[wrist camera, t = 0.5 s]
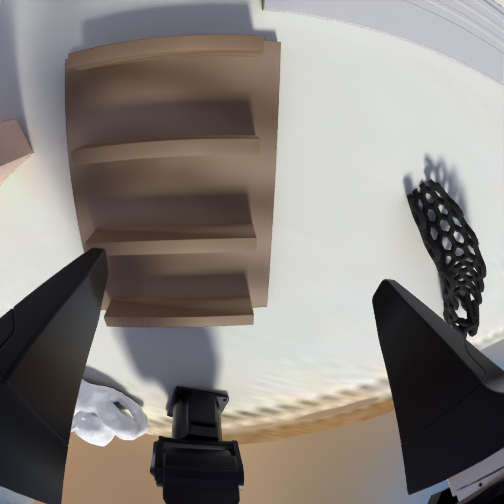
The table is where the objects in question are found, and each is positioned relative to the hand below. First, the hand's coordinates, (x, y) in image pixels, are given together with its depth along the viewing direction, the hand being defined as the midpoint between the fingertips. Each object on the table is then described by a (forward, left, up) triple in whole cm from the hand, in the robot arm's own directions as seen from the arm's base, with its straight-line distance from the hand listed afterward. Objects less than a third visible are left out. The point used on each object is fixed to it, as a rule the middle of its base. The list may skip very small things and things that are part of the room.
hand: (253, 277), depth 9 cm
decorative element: (-1, -25, -15) cm, 29 cm away
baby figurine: (-30, +7, -14) cm, 34 cm away
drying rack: (-2, +4, -14) cm, 15 cm away
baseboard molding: (+23, -11, -15) cm, 29 cm away
